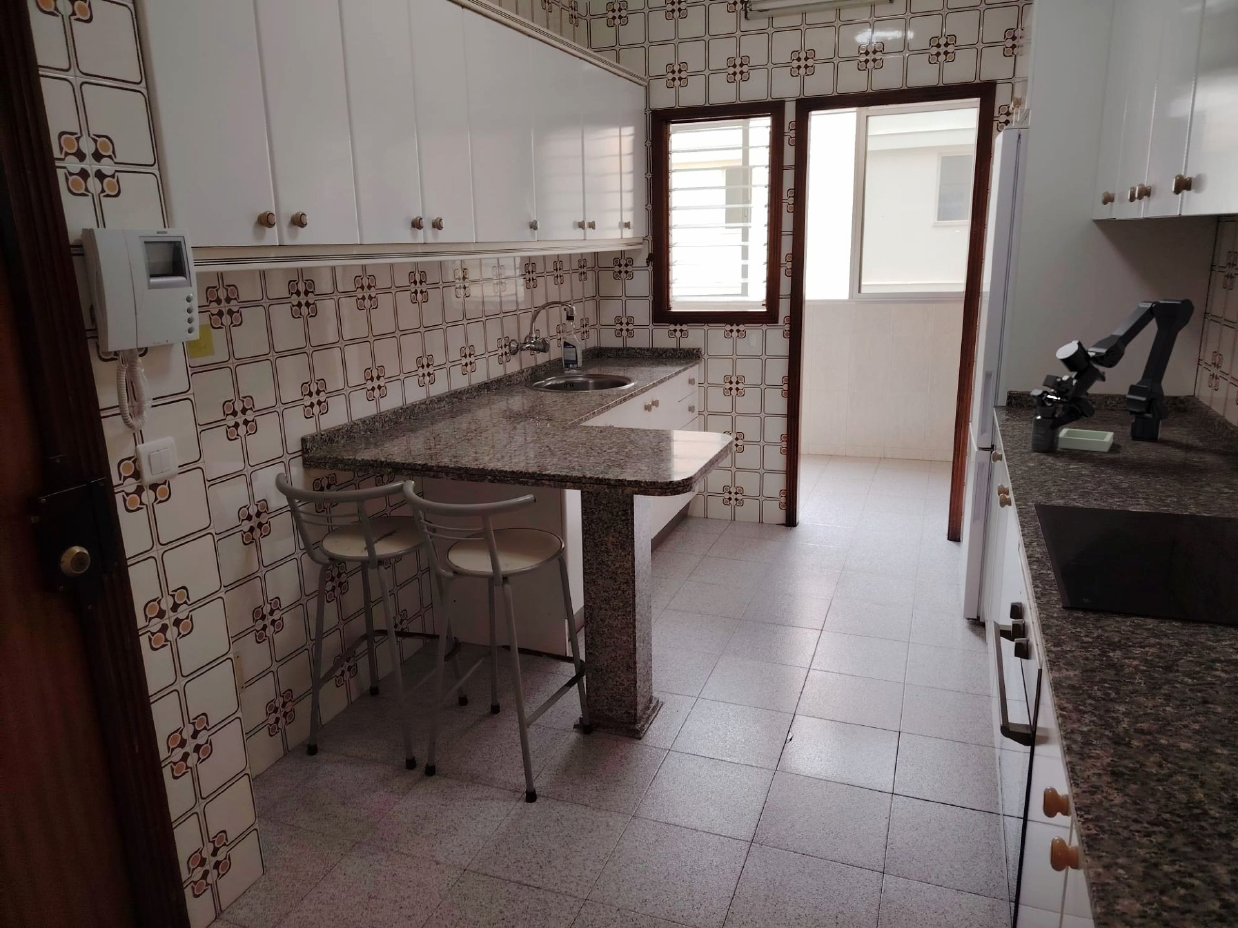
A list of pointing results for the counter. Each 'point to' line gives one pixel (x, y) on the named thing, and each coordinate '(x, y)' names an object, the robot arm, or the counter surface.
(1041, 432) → the supplement bottle
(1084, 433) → the mint green square tray
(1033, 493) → the counter surface
